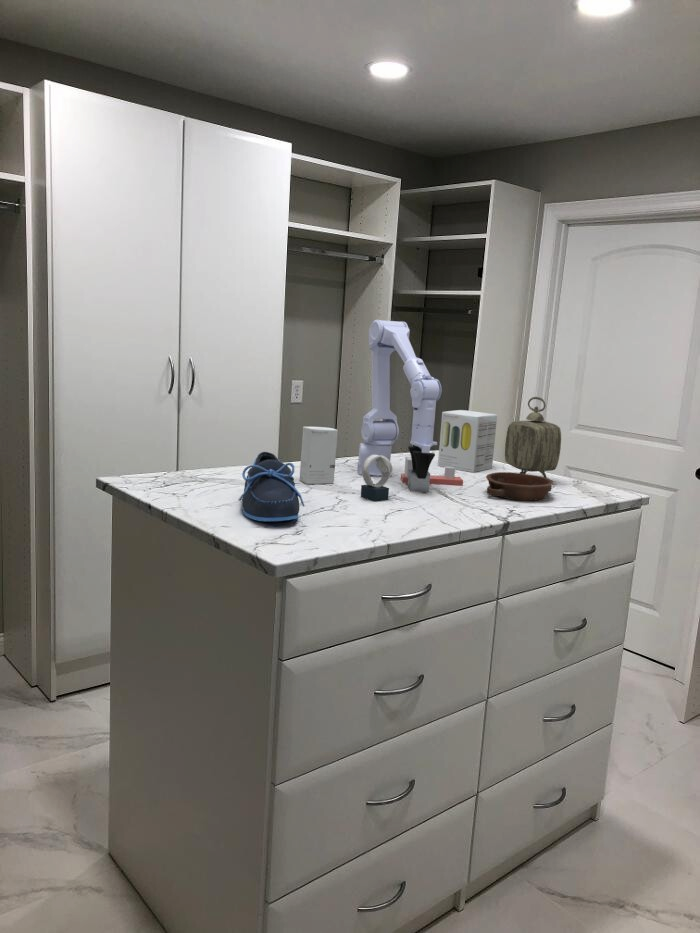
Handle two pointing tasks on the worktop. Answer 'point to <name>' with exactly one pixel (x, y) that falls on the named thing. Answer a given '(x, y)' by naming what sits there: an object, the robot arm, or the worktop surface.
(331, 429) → the skincare box
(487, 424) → the supplement box
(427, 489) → the grey cube
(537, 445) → the tabletop clock
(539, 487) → the dish
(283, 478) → the moccasin
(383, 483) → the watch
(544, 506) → the worktop surface
